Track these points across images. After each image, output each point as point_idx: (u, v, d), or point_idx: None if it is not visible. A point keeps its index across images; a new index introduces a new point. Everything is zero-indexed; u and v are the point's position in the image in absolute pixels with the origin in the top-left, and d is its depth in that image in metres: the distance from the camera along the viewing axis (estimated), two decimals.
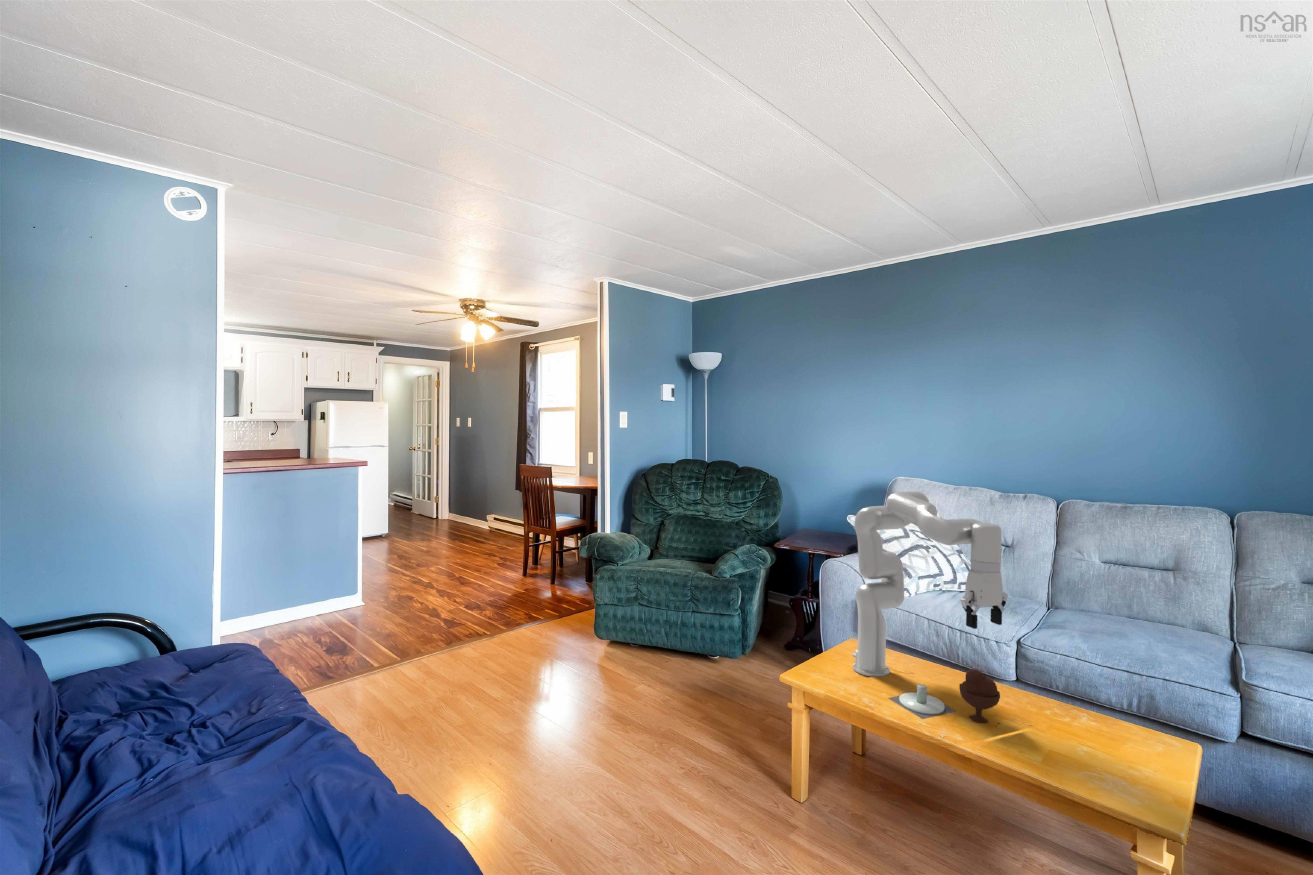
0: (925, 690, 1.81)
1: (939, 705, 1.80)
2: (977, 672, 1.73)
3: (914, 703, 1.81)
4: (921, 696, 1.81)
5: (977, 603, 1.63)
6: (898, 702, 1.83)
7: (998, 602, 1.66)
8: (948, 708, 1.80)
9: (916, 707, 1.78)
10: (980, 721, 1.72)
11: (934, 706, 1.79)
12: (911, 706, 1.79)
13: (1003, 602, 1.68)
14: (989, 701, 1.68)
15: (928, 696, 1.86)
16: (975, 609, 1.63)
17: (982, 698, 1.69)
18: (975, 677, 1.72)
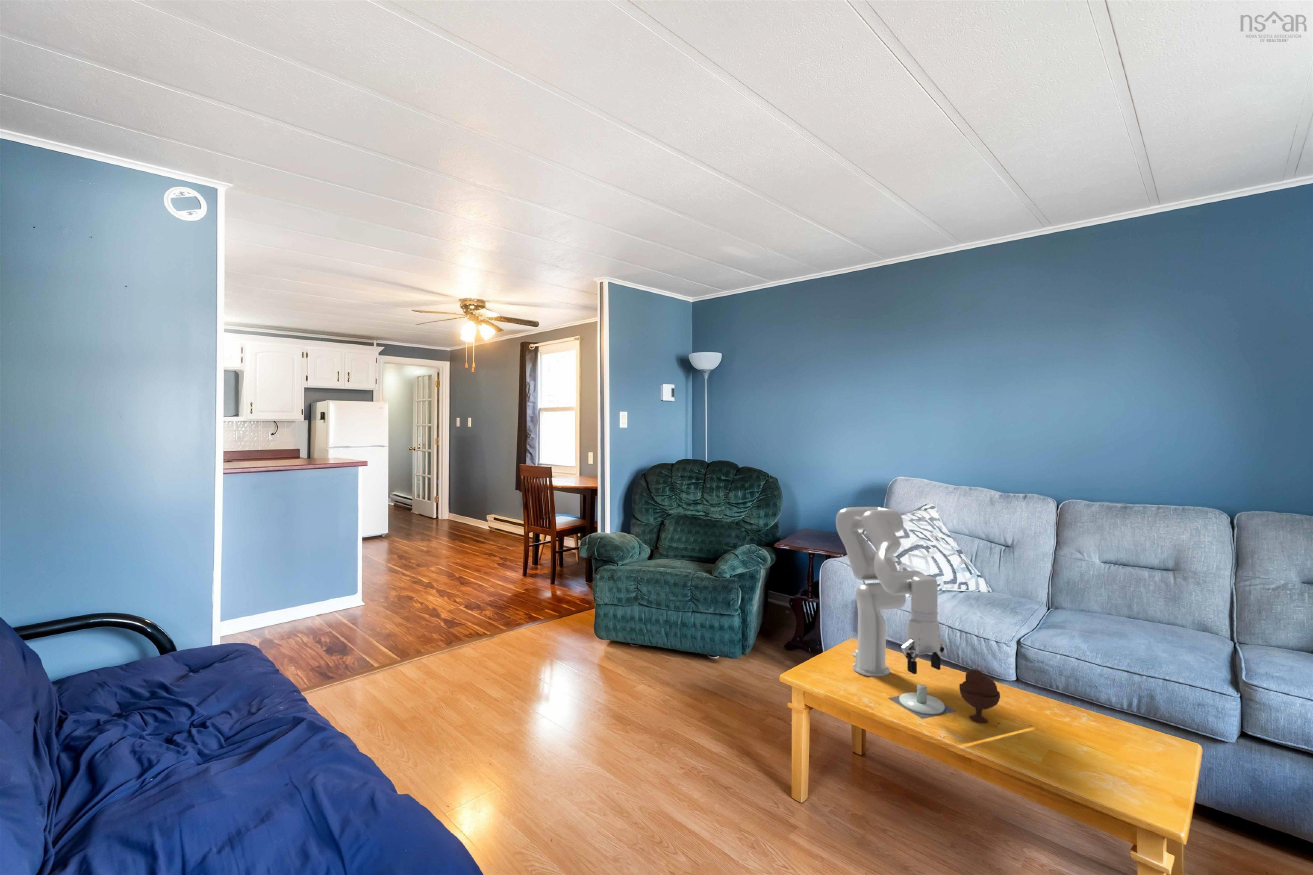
0: (925, 690, 1.81)
1: (939, 705, 1.80)
2: (977, 672, 1.73)
3: (914, 703, 1.81)
4: (921, 696, 1.81)
5: (916, 650, 1.78)
6: (898, 702, 1.83)
7: (936, 649, 1.81)
8: (948, 708, 1.80)
9: (916, 708, 1.78)
10: (980, 721, 1.72)
11: (934, 706, 1.79)
12: (911, 706, 1.79)
13: (942, 648, 1.83)
14: (989, 701, 1.68)
15: (928, 696, 1.86)
16: (914, 656, 1.79)
17: (982, 698, 1.69)
18: (975, 676, 1.73)
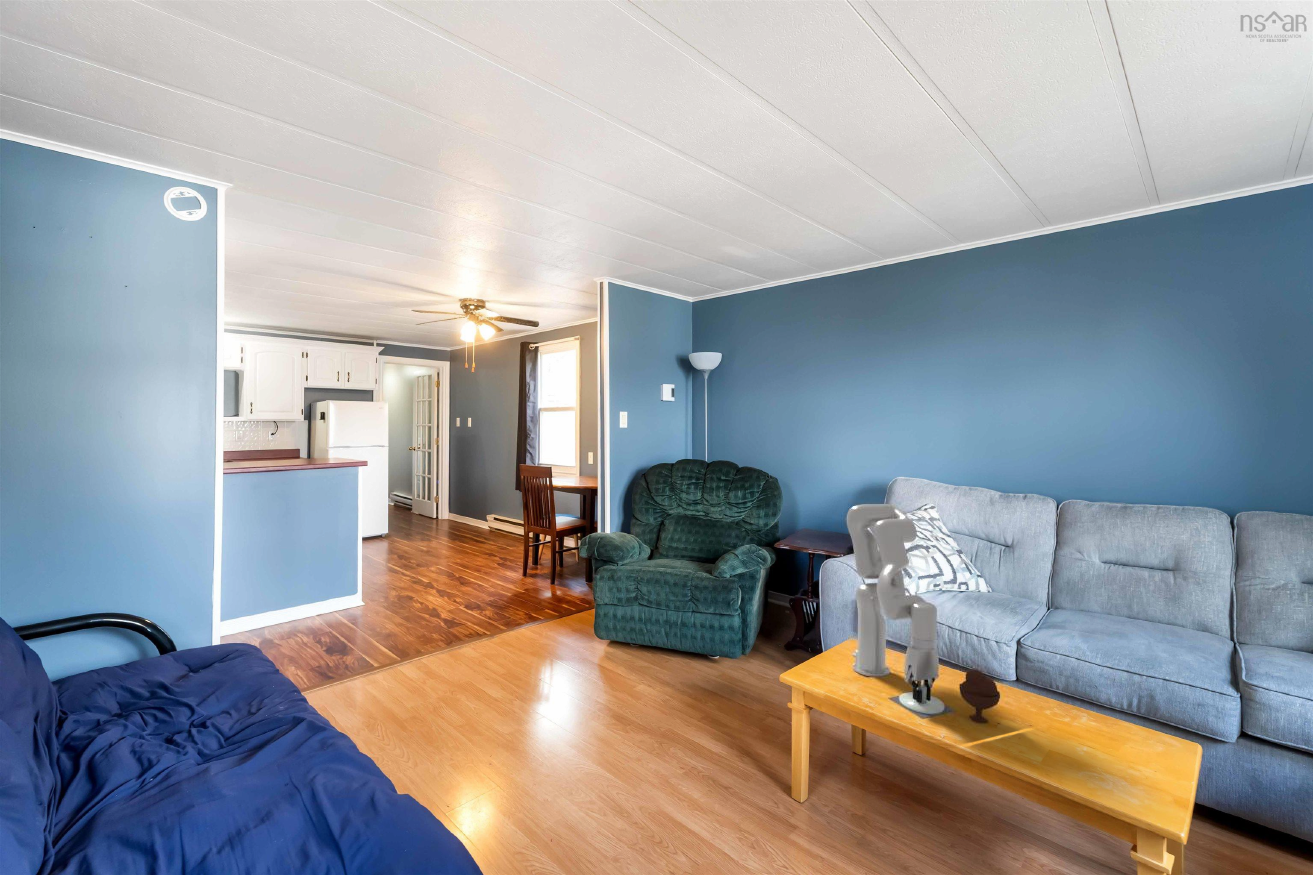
0: (925, 690, 1.81)
1: (939, 705, 1.80)
2: (977, 672, 1.73)
3: (914, 703, 1.81)
4: None
5: (914, 677, 1.79)
6: (898, 702, 1.83)
7: (934, 675, 1.81)
8: (948, 708, 1.80)
9: (916, 707, 1.78)
10: (980, 721, 1.72)
11: (934, 706, 1.79)
12: (911, 706, 1.79)
13: (932, 679, 1.83)
14: (989, 701, 1.68)
15: None
16: (918, 685, 1.80)
17: (982, 698, 1.69)
18: (975, 677, 1.72)
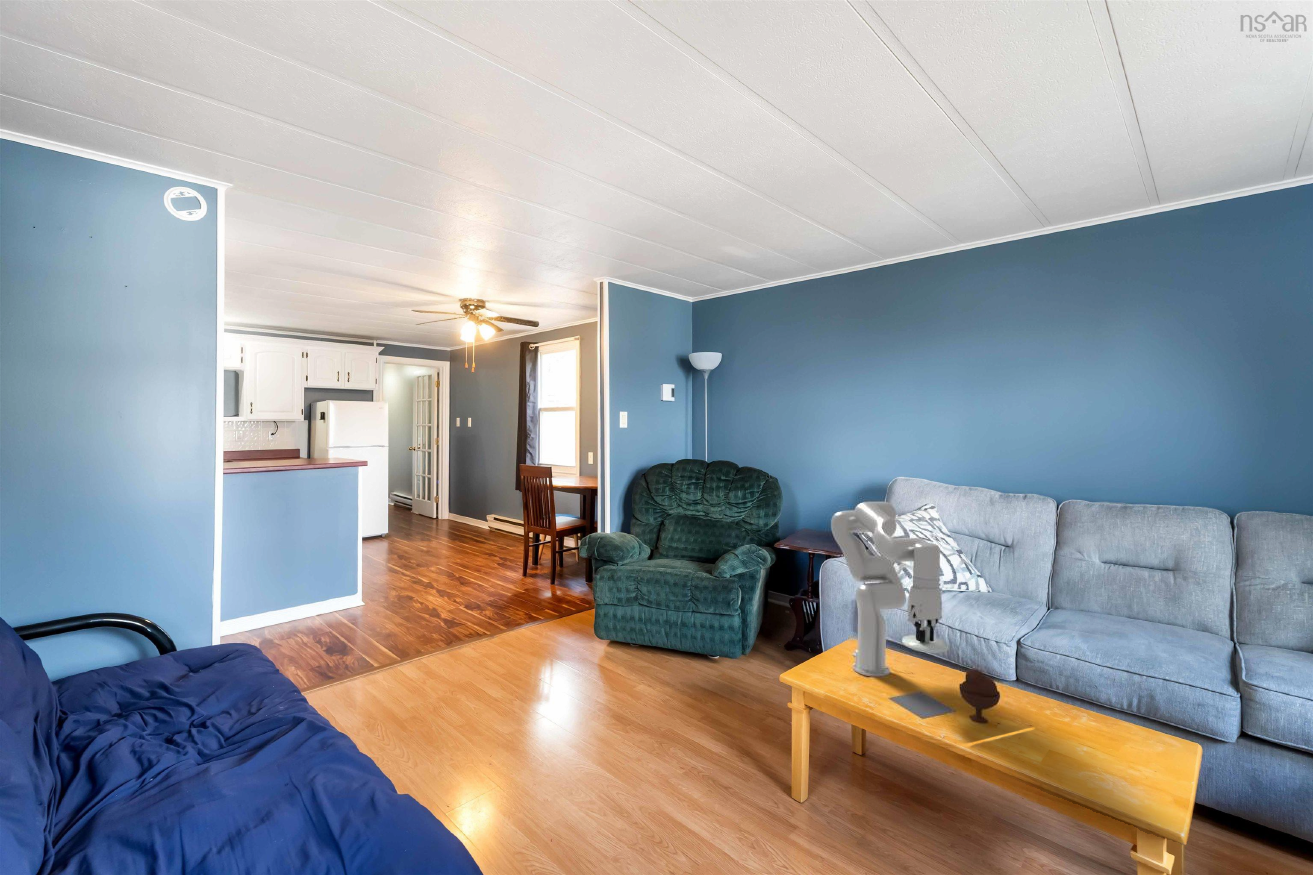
0: (928, 630, 1.80)
1: (942, 645, 1.80)
2: (977, 672, 1.73)
3: (917, 643, 1.81)
4: None
5: (917, 616, 1.78)
6: (898, 702, 1.83)
7: (937, 615, 1.81)
8: (948, 708, 1.80)
9: (919, 647, 1.78)
10: (980, 721, 1.72)
11: (937, 646, 1.78)
12: (914, 646, 1.79)
13: None
14: (989, 701, 1.68)
15: None
16: (921, 625, 1.80)
17: (982, 698, 1.69)
18: (975, 676, 1.73)
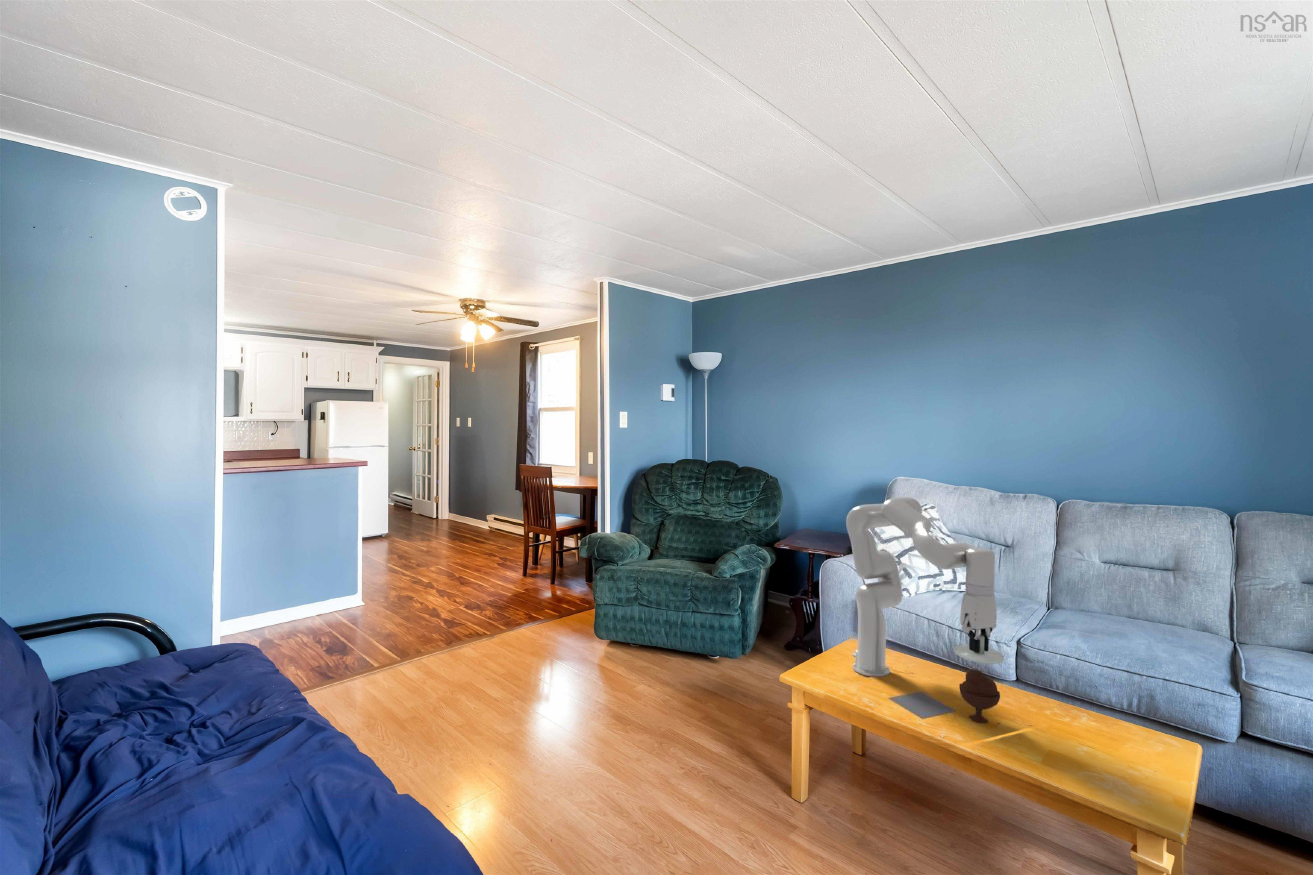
0: (983, 640, 1.72)
1: (998, 655, 1.71)
2: (977, 672, 1.73)
3: (971, 653, 1.72)
4: None
5: (972, 625, 1.70)
6: (898, 702, 1.83)
7: (992, 624, 1.72)
8: (948, 708, 1.80)
9: (975, 657, 1.69)
10: (980, 721, 1.72)
11: (993, 656, 1.70)
12: (969, 656, 1.70)
13: (990, 629, 1.74)
14: (989, 701, 1.68)
15: None
16: (976, 634, 1.71)
17: (982, 698, 1.69)
18: (975, 677, 1.72)
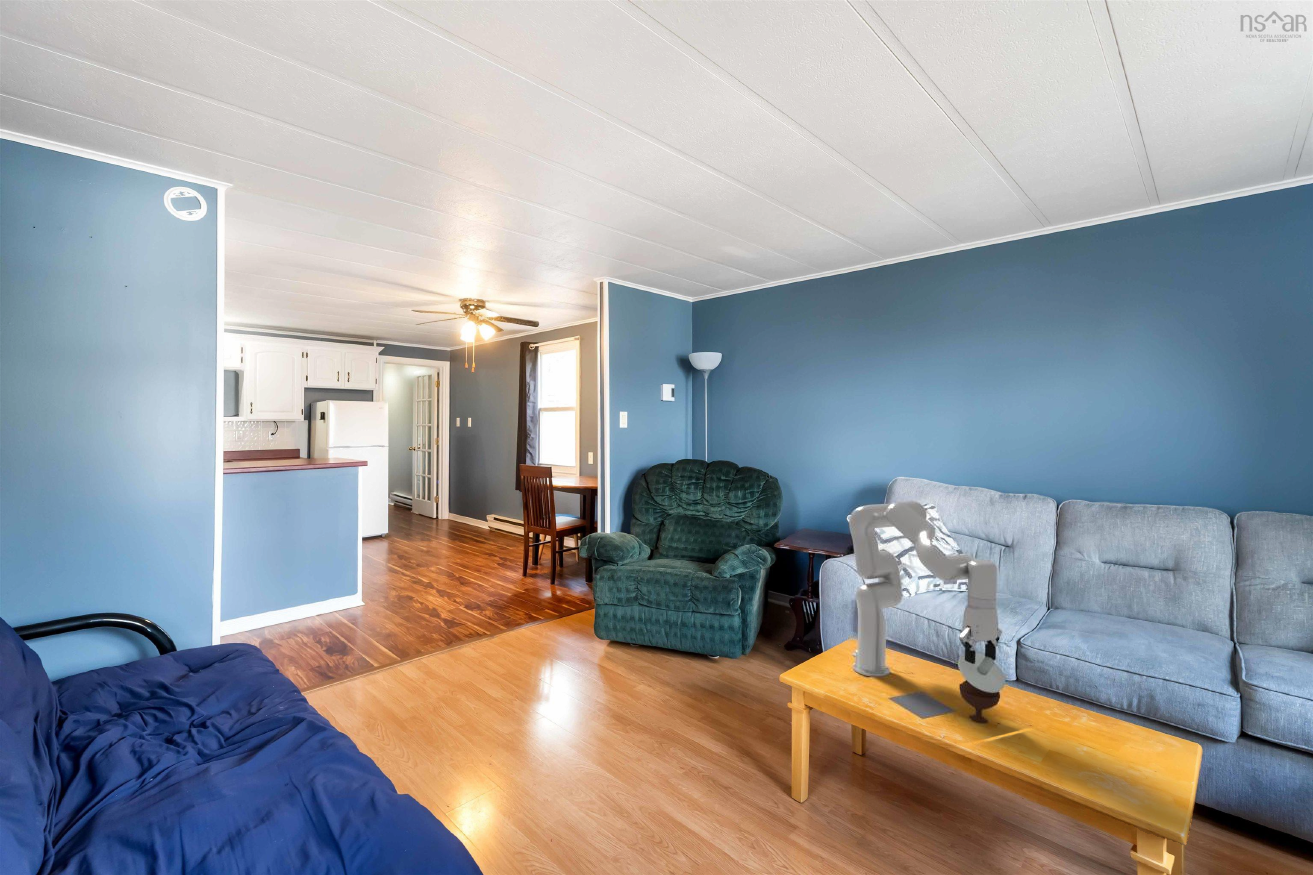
0: (991, 666, 1.69)
1: (1000, 679, 1.71)
2: None
3: (974, 672, 1.72)
4: (984, 669, 1.70)
5: (973, 638, 1.70)
6: (898, 702, 1.83)
7: (994, 636, 1.72)
8: (948, 708, 1.80)
9: (976, 681, 1.69)
10: (980, 721, 1.72)
11: (994, 682, 1.70)
12: (970, 678, 1.70)
13: (997, 638, 1.75)
14: (989, 701, 1.68)
15: None
16: (973, 645, 1.70)
17: (982, 698, 1.69)
18: None
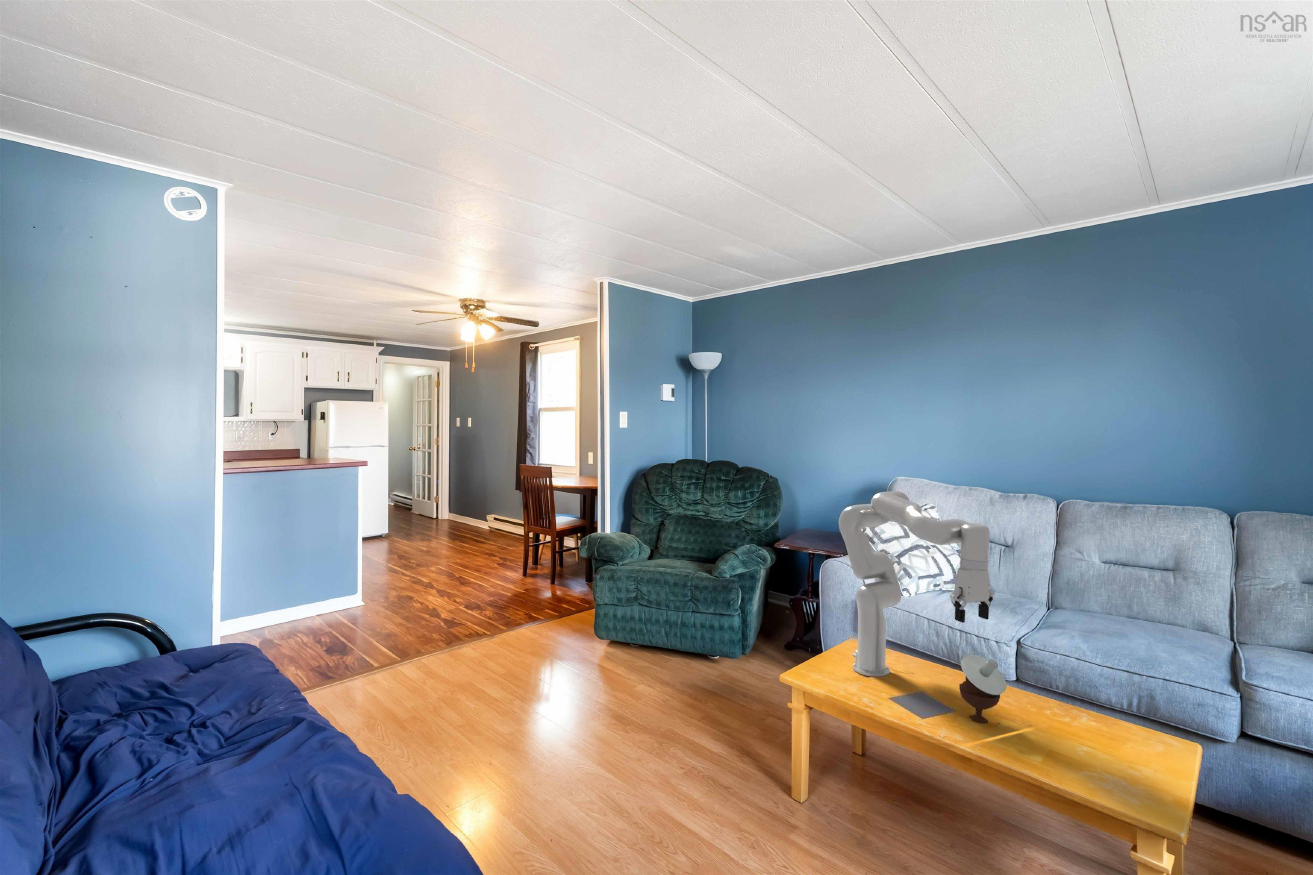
0: (995, 668, 1.69)
1: (1001, 683, 1.70)
2: None
3: (976, 674, 1.71)
4: (988, 671, 1.70)
5: (965, 599, 1.74)
6: (898, 702, 1.83)
7: (985, 598, 1.76)
8: (948, 708, 1.80)
9: (979, 682, 1.68)
10: (980, 721, 1.72)
11: (996, 684, 1.69)
12: (973, 679, 1.69)
13: (990, 598, 1.79)
14: (989, 701, 1.68)
15: None
16: (963, 604, 1.74)
17: (982, 698, 1.69)
18: None
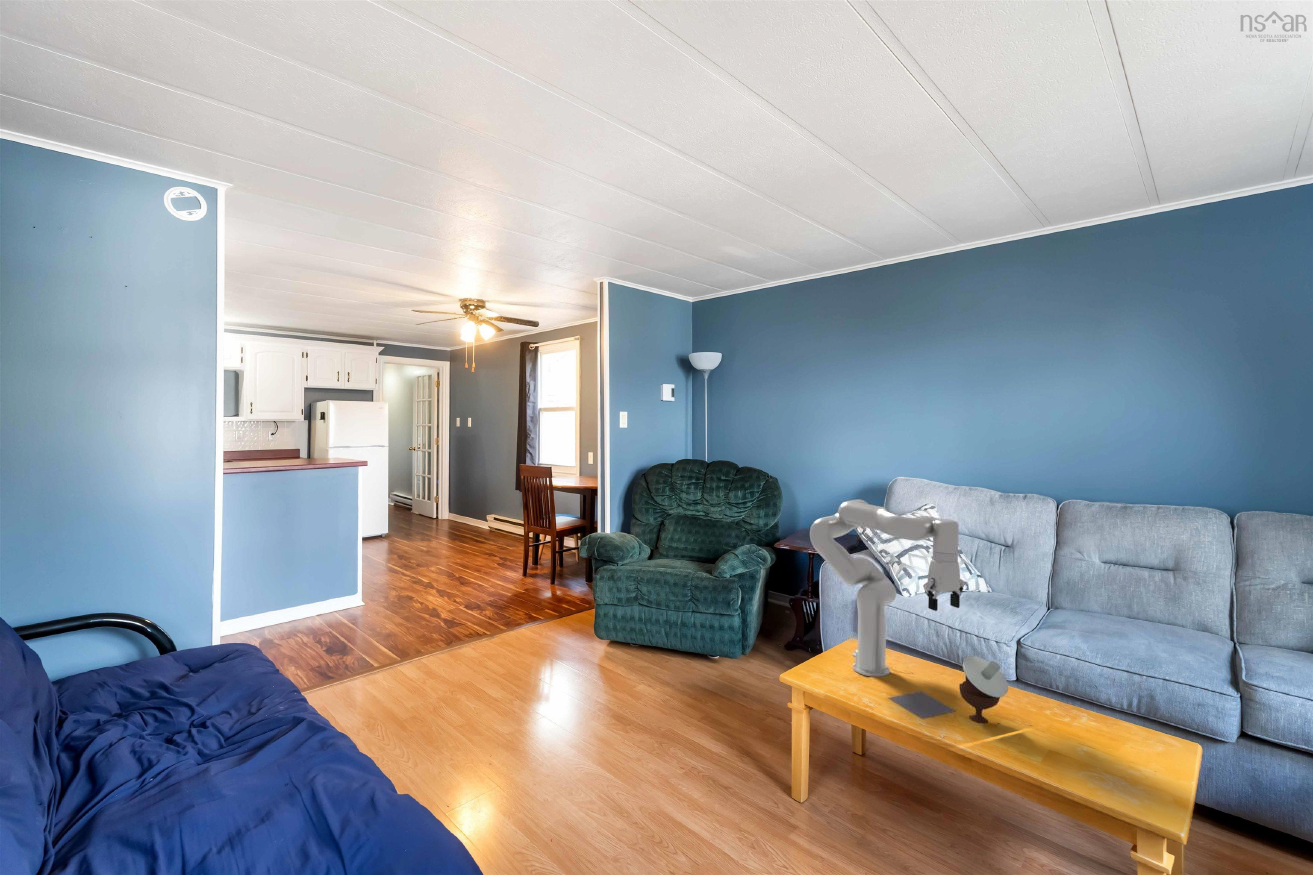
0: (997, 670, 1.68)
1: (1003, 685, 1.70)
2: None
3: (978, 676, 1.70)
4: (990, 674, 1.69)
5: (937, 588, 1.88)
6: (898, 702, 1.83)
7: (956, 588, 1.91)
8: (948, 708, 1.80)
9: (980, 685, 1.68)
10: (980, 721, 1.72)
11: (998, 687, 1.69)
12: (975, 681, 1.69)
13: (961, 588, 1.93)
14: (989, 701, 1.68)
15: None
16: (935, 594, 1.89)
17: (982, 698, 1.69)
18: None
